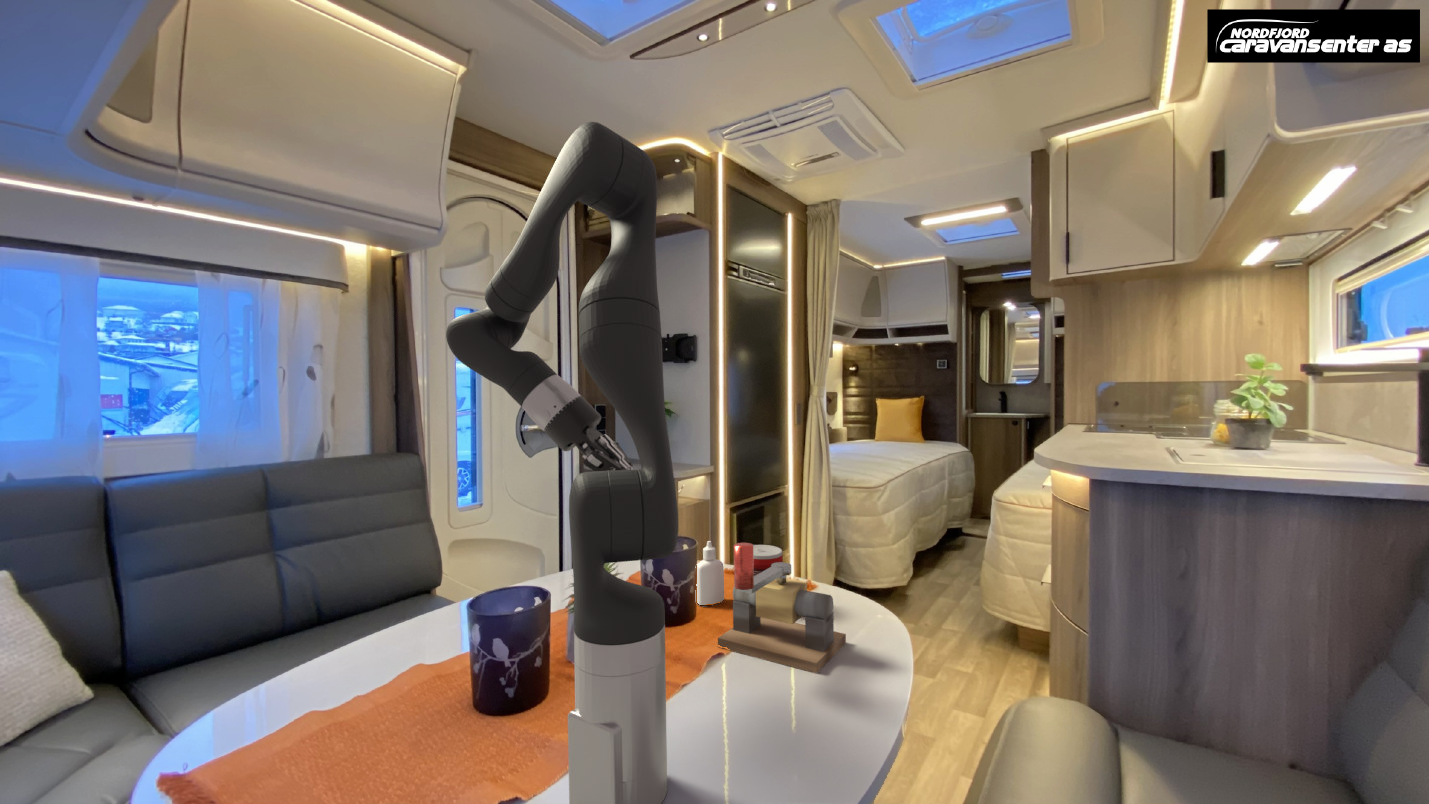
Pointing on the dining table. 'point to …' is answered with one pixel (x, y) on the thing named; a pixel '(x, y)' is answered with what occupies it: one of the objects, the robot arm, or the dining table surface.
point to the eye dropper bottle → (710, 577)
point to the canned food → (765, 557)
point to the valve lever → (745, 570)
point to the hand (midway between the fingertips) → (644, 495)
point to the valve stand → (784, 626)
